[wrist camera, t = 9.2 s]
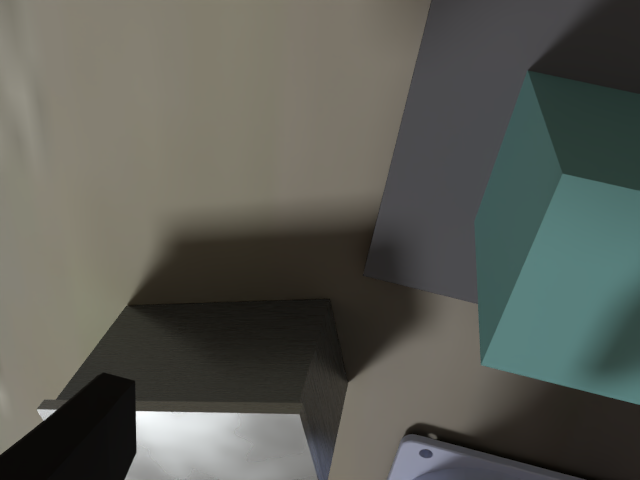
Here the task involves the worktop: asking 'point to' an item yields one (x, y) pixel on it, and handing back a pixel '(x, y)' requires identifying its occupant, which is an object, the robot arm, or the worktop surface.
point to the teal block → (564, 240)
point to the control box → (226, 388)
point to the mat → (481, 121)
